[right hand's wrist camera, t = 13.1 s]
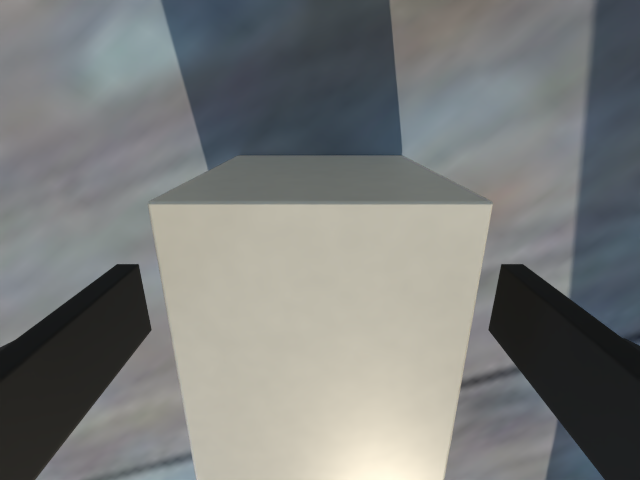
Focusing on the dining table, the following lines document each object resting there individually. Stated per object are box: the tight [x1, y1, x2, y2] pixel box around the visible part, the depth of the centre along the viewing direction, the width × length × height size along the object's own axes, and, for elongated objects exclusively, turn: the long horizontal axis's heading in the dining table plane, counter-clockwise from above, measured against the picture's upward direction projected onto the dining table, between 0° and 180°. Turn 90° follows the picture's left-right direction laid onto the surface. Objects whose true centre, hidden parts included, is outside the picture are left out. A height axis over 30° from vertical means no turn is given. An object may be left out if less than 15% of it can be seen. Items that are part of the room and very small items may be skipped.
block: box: [148, 155, 493, 480], centre depth 14 cm, size 8×9×9 cm
